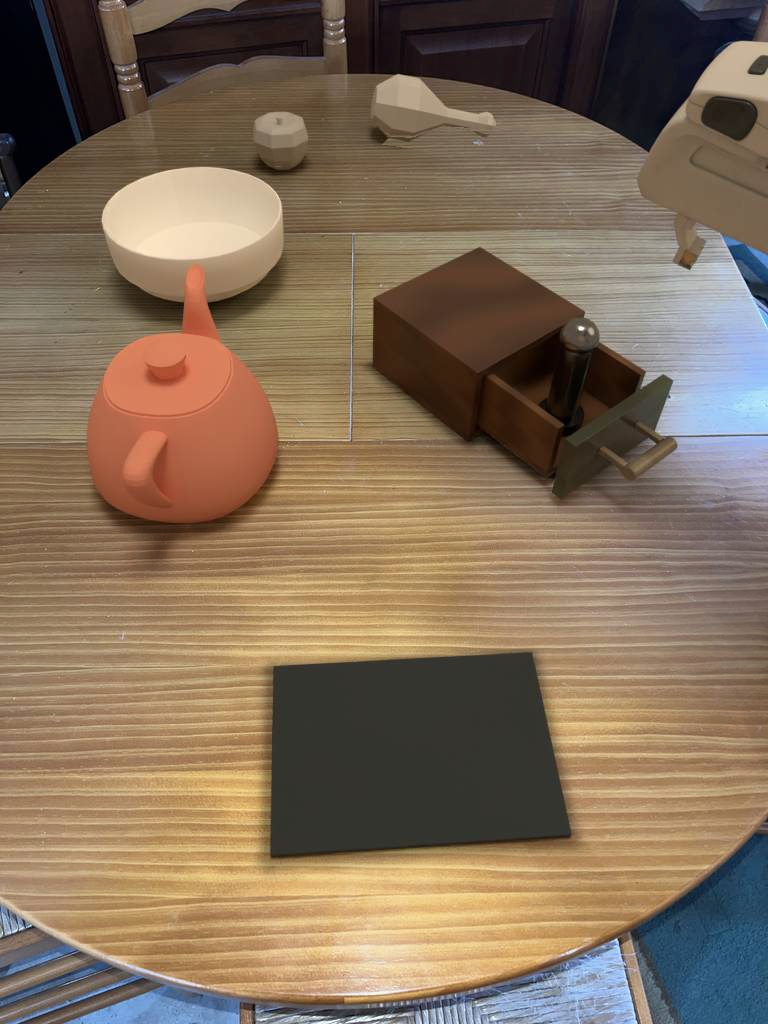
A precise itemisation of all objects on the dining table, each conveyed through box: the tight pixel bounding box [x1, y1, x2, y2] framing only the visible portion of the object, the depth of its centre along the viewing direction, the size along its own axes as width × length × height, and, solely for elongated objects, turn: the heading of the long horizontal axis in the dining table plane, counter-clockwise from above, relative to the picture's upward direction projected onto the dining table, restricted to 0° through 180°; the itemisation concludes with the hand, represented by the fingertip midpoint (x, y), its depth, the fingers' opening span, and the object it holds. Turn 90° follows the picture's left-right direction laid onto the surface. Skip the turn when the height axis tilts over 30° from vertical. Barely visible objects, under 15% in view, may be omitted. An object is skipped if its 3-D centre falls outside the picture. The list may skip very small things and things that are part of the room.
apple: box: [252, 111, 309, 171], centre depth 112 cm, size 8×8×7 cm
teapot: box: [86, 264, 279, 524], centre depth 72 cm, size 25×17×13 cm
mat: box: [269, 651, 573, 859], centre depth 58 cm, size 20×14×1 cm
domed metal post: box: [539, 317, 601, 436], centre depth 74 cm, size 4×4×12 cm
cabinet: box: [372, 246, 586, 443], centre depth 82 cm, size 15×15×9 cm
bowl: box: [101, 166, 284, 304], centre depth 93 cm, size 20×20×8 cm
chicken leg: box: [370, 73, 497, 143], centre depth 118 cm, size 8×18×8 cm, turn 94°
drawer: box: [476, 332, 679, 501], centre depth 76 cm, size 18×13×7 cm
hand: (742, 289), depth 60 cm, fingers open, 8 cm apart
